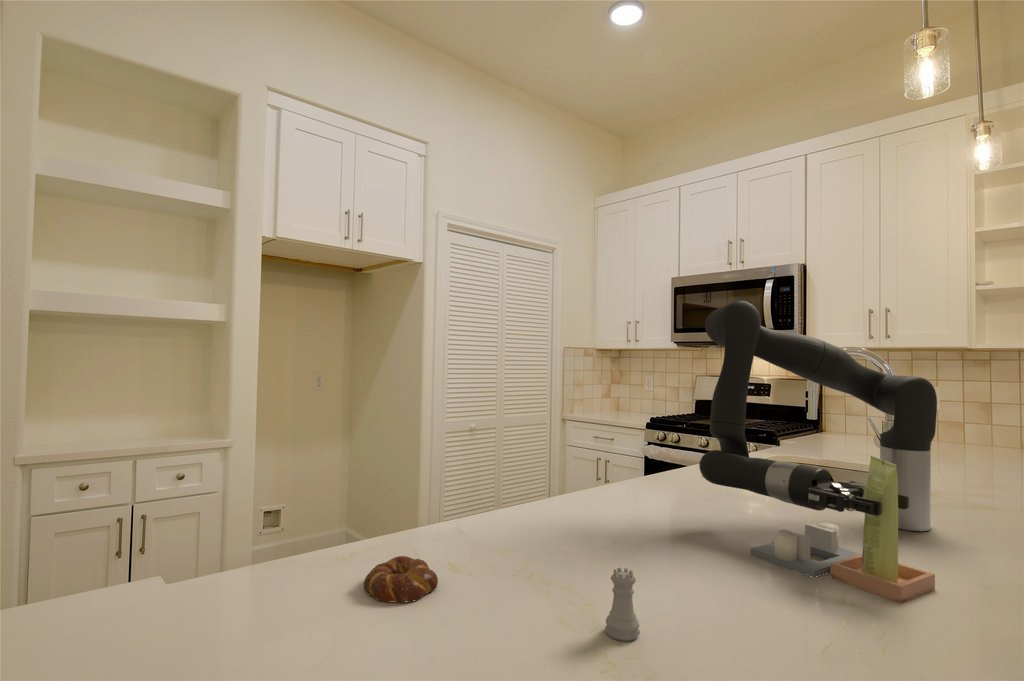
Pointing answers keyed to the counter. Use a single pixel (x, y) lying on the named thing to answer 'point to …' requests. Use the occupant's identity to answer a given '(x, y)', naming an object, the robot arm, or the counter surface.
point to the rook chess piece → (622, 608)
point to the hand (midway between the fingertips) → (894, 505)
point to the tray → (905, 589)
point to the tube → (881, 522)
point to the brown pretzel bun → (400, 580)
